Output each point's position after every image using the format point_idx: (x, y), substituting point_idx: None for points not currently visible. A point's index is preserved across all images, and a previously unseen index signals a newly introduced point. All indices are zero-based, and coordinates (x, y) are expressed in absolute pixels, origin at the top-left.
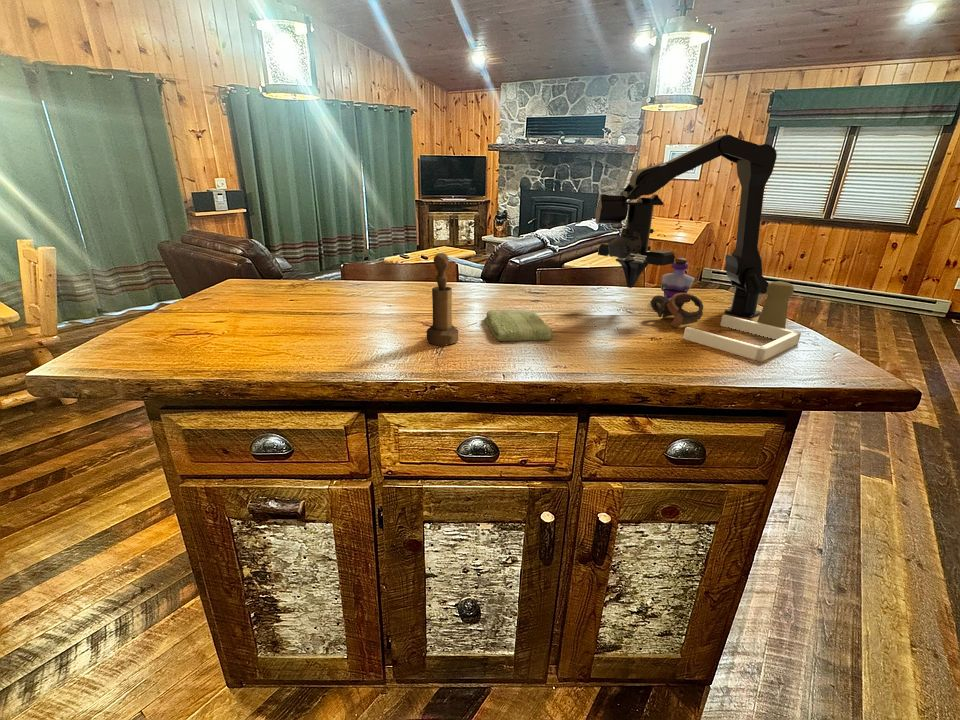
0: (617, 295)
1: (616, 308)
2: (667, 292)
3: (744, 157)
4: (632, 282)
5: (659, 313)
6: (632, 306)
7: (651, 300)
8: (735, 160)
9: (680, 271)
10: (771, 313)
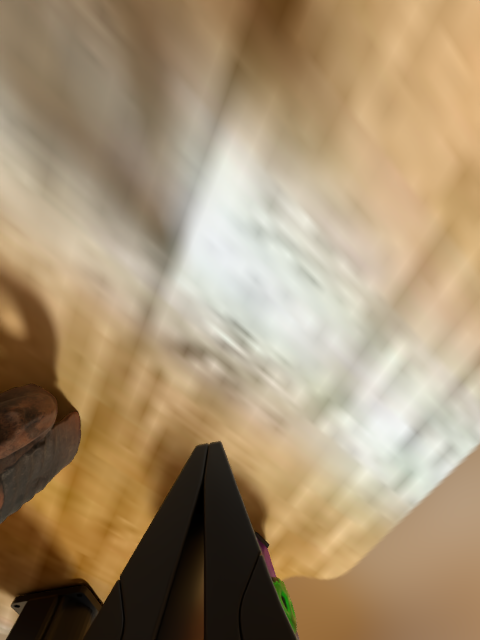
0: (392, 461)
1: (262, 342)
2: None
3: None
4: (175, 495)
5: (10, 390)
6: (253, 416)
7: (15, 422)
8: None
9: None
10: None
